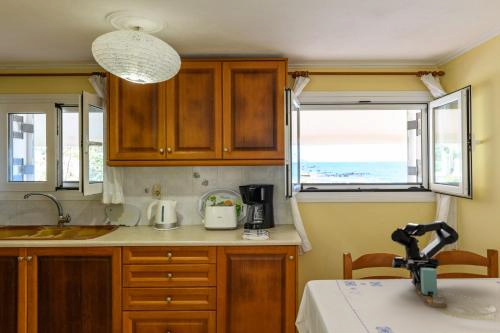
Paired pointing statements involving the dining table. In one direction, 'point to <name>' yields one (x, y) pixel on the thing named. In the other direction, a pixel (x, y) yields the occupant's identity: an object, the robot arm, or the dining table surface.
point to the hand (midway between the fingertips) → (419, 281)
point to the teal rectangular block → (428, 281)
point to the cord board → (430, 298)
